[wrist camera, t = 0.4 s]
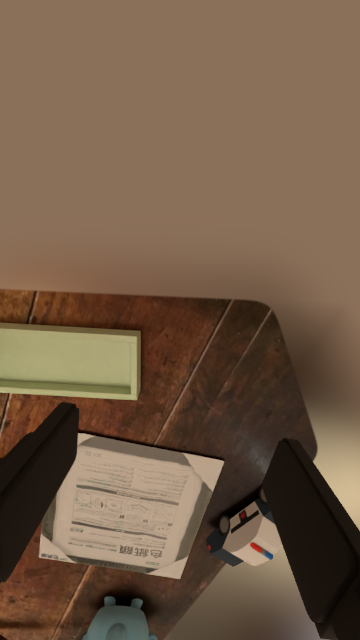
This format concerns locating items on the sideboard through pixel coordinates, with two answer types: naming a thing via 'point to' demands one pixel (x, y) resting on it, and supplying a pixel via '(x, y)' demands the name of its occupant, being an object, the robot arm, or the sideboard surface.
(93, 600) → the sideboard surface
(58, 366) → the shallow tray
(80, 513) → the picture frame
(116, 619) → the teapot
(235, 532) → the toy car
